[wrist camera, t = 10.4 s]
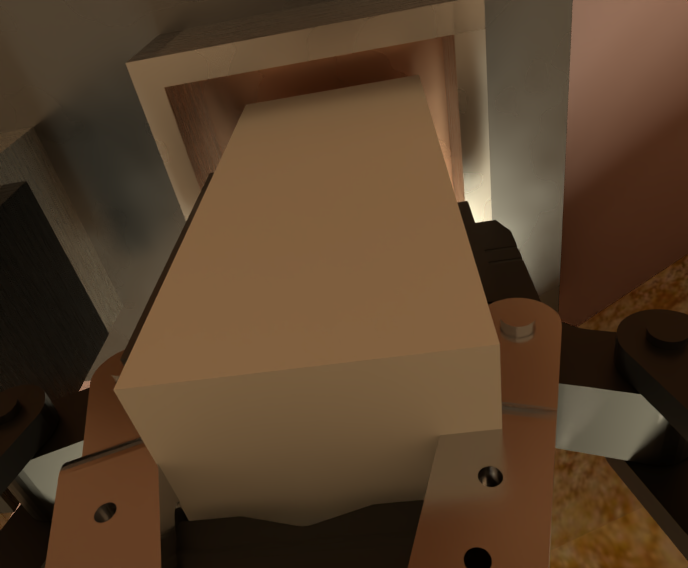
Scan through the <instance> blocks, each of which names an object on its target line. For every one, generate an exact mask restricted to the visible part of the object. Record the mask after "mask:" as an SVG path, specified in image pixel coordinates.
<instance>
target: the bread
mask: <svg viewBox="0 0 688 568" xmlns="http://www.w3.org/2000/svg"><path fill="white" fill-rule="evenodd" d="M650 309H665V310H672V311H678V312H681V313H685V314H688V254H687V255H686V256H684V257H683V258H681V259H680V260H678V261H677V262H675V263H674V264H672V265H671V266H669V267H668V268H666V269H665V270H663V271H662V272H660V273H658V274H657V275H655V276H654V277H652V278H651V279H649V280H648V281H646V282H645V283H643V284H642V285H640V286H639V287H637V288H636V289H634V290H633V291H631V292H630V293H628V294H627V295H625V296H624V297H622V298H621V299H619V300H618V301H616V302H615V303H613V304H611V305H610V306H608V307H607V308H605V309H604V310H602V311H601V312H599V313H598V314H596V315H595V316H593V317H592V318H590V319H589V320H587V321H586V322H584V323H583V324H581V325H580V326H578V328H583V329H590V330H600V331H610V332H617V328H618V326H619V324H620V322H621V321H622V320H623V319H624V318H626V317H627V316H629V315H631V314H633V313H636V312H639V311H643V310H650ZM549 568H688V561H687V560H686V558H685V557H684V556H683V555H682V553H681V552H680V551H679V550H678V549H677V547H676V546H675V545H674V544H673V542H672V541H671V540H670V539H669V537H668V536H667V535H666V534H665V533H664V531H663V530H662V529H661V528H660V526H659V525H658V524H657V523H656V521H655V520H654V519H653V518H652V517H651V515H650V514H649V513H648V512H647V510H646V509H645V508H644V507H643V505H642V504H641V503H640V502H639V501H638V499H637V498H636V497H635V496H634V494H633V493H632V492H631V491H630V489H629V488H628V487H627V486H626V485H625V483H624V482H623V481H622V480H621V478H620V477H619V476H618V475H617V473H616V472H615V471H614V470H613V469H612V467H611V466H610V465H609V463H608V462H607V460H606V458H605V457H604V456H598V455H592V454H586V453H581V452H575V451H569V450H563V449H558V448H556V450H555V468H554V487H553V505H552V524H551V542H550V561H549Z"/></svg>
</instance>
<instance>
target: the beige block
mask: <svg viewBox="0 0 688 568" xmlns="http://www.w3.org/2000/svg"><path fill="white" fill-rule="evenodd" d="M120 360H121V362H122V364H123V365H124V368H123V370H122V372H121V375H120V377H119V379H118V381H117V383H116V385H115V388H114V392H115V394H116V395H117V397H118V399H119V400H120V402H121V404H122V406H123V407H124V409H125V411H126V413H127V414H128V416H129V418H130V419H131V421H132V423H133V425H134V426H135V428H136V430H137V432H138V433H139V435H140V437H141V438H142V440H143V442H144V444H145V445H146V447H147V449H148V451H149V452H150V454H151V456H152V457H153V459H154V461H155V463H156V464H159V466H160V468H161V470H162V471H163V473H164V475H165V476H166V478H167V480H168V482H169V483H170V485H171V487H172V489H173V490H174V492H175V494H176V496H177V497H178V499H179V501H180V503H179V504H180V506H181V508H182V509H183V511H184V513H185V514H186V516H187V518H188V520H189V521H194V520H205V519H216V518H227V517H238V516H243V517H248V518H254V519H260V520H266V521H272V522H278V523H284V524H289V525H295V526H309V525H313V524H316V523H319V522H322V521H325V520H328V519H331V518H334V517H337V516H340V515H343V514H346V513H349V512H352V511H355V510H358V509H361V508H364V507H367V506H370V505H373V504H382V503H394V502H405V501H416V500H424V498H425V494H426V490H427V486H428V482H429V478H430V474H431V470H432V465H433V461H434V457H435V453H436V449H437V445H438V441H439V437H440V435H447V434H457V433H467V432H476V431H486V430H496V429H502V401H501V365H500V343H499V340H498V336H497V333H496V330H495V326H494V323H493V320H492V316H491V313H490V310H489V306H488V303H487V300H486V296H485V293H484V290H483V286H482V283H481V280H480V276H479V273H478V270H477V266H476V263H475V260H474V256H473V253H472V250H471V246H470V243H469V240H468V236H467V233H466V230H465V227H464V223H463V220H462V217H461V213H460V210H459V207H458V203H457V200H456V197H455V193H454V190H453V187H452V183H451V180H450V177H449V173H448V170H447V167H446V163H445V160H444V157H443V153H442V150H441V147H440V143H439V140H438V137H437V133H436V130H435V127H434V123H433V120H432V117H431V113H430V110H429V107H428V103H427V100H426V97H425V93H424V90H423V87H422V84H421V80H420V77H419V75H414V76H408V77H402V78H396V79H391V80H385V81H379V82H373V83H368V84H362V85H356V86H350V87H345V88H339V89H333V90H327V91H322V92H316V93H310V94H304V95H299V96H293V97H287V98H281V99H276V100H270V101H264V102H258V103H253V104H247V105H246V106H245V108H244V110H243V112H242V114H241V116H240V118H239V121H238V123H237V125H236V127H235V129H234V131H233V134H232V136H231V138H230V140H229V142H228V144H227V146H226V149H225V151H224V153H223V155H222V157H221V159H220V161H219V164H218V166H217V168H216V170H215V172H213V173H209V175H208V177H207V179H206V181H205V183H204V186H203V188H202V190H201V192H200V194H199V196H198V198H197V200H196V202H195V204H194V206H193V208H192V211H191V213H190V215H189V217H188V219H187V221H186V223H185V225H184V227H183V229H182V231H181V233H180V236H179V238H178V240H177V242H176V244H175V246H174V248H173V250H172V252H171V254H170V256H169V259H168V261H167V263H166V265H165V267H164V269H163V271H162V273H161V275H160V277H159V279H158V281H157V284H156V286H155V288H154V290H153V292H152V294H151V296H150V298H149V300H148V302H147V304H146V306H145V309H144V311H143V313H142V315H141V317H140V319H139V321H138V323H137V325H136V327H135V329H134V331H133V334H132V336H131V338H130V340H129V342H128V344H127V346H126V348H125V350H124V352H123V354H122V356H121V359H120Z"/></svg>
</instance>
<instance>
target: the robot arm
mask: <svg viewBox="0 0 688 568" xmlns="http://www.w3.org/2000/svg"><path fill="white" fill-rule="evenodd" d="M457 203H458V207H459V210H460V213H461V217H462V220H463V223H464V227H465V230H466V233H467V236H468V240H469V243H470V246H471V250H472V253H473V256H474V260H475V263H476V266H477V270H478V273H479V276H480V280H481V283H482V286H483V290H484V293H485V296H486V300H487V303H488V306H489V310H490V313H491V316H492V320H493V323H494V326H495V330H496V333H497V336H498V340H499V343H500V365H501V401H502V429H496V430H486V431H476V432H467V433H457V434H447V435H440V437H439V441H438V445H437V449H436V453H435V457H434V461H433V465H432V470H431V474H430V478H429V482H428V486H427V490H426V494H425V498H424V500H416V501H405V502H394V503H382V504H373V505H370V506H367V507H364V508H361V509H358V510H355V511H352V512H349V513H346V514H343V515H340V516H337V517H334V518H331V519H328V520H325V521H322V522H319V523H316V524H313V525H309V526H295V525H289V524H284V523H278V522H272V521H266V520H260V519H254V518H248V517H243V516H238V517H227V518H216V519H205V520H194V521H189V520H188V518H187V516H186V514H185V513H184V511H183V509H182V508H181V506H180V504H179V503H180V501H179V499H178V497H177V496H176V494H175V492H174V490H173V489H172V487H171V485H170V483H169V482H168V480H167V478H166V476H165V475H164V473H163V471H162V470H161V468H160V466H159V464H156V463H155V461H154V459H153V457H152V456H151V454H150V452H149V451H148V449H147V447H146V445H145V444H144V442H143V440H142V438H141V437H140V435H139V433H138V432H137V430H136V428H135V426H134V425H133V423H132V421H131V419H130V418H129V416H128V414H127V413H126V411H125V409H124V407H123V406H122V404H121V402H120V400H119V399H118V397H117V395H116V394H115V392H114V388H115V385H116V383H117V381H118V379H119V377H120V375H121V372H122V370H123V368H124V365H123V364H122V362H121V360H120V359H121V356H122V354H123V352H124V350H123V351H121V352H118V353H116V354H115V355H113V356H111V357H110V358H109V359H107V360H106V361H105V362H104V363H102V364H101V365H100V366H99V367H98V369H97V370H96V371H95V373H94V374H93V376H92V378H91V382H90V388H87V389H85V390H82V391H79V392H76V393H74V394H71V395H68V396H65V397H62V398H59V399H57V400H54V401H51V400H50V399H49V398H48V396H47V395H46V393H45V392H44V390H43V389H42V388H41V387H39V386H36V385H20V386H16V387H12V388H9V389H7V390H5V391H2V392H0V496H1V495H2V493H3V492H4V491H5V490H6V489H7V488H8V489H9V490H10V492H11V493H12V494H13V495H14V496H15V497H16V499H17V500H18V501H19V502H20V503H21V505H20V506H19V508H18V509H17V510H16V511H15V513H14V514H13V515H12V516H11V518H10V519H9V520H8V521H7V523H6V524H5V525H4V526H3V528H2V529H1V530H0V568H549V561H550V542H551V524H552V505H553V487H554V468H555V450H556V448H558V449H563V450H569V451H575V452H581V453H586V454H592V455H598V456H604V457H605V458H606V460H607V462H608V463H609V465H610V466H611V467H612V469H613V470H614V471H615V472H616V473H617V475H618V476H619V477H620V478H621V480H622V481H623V482H624V483H625V485H626V486H627V487H628V488H629V489H630V491H631V492H632V493H633V494H634V496H635V497H636V498H637V499H638V501H639V502H640V503H641V504H642V505H643V507H644V508H645V509H646V510H647V512H648V513H649V514H650V515H651V517H652V518H653V519H654V520H655V521H656V523H657V524H658V525H659V526H660V528H661V529H662V530H663V531H664V533H665V534H666V535H667V536H668V537H669V539H670V540H671V541H672V542H673V544H674V545H675V546H676V547H677V549H678V550H679V551H680V552H681V553H682V555H683V556H684V557H685V558H686V560H687V561H688V314H685V313H681V312H678V311H672V310H665V309H650V310H643V311H639V312H636V313H633V314H631V315H629V316H627V317H626V318H624V319H623V320H622V321H621V322H620V324H619V326H618V328H617V332H610V331H600V330H590V329H583V328H578V327H574V326H571V325H568V324H566V323H563V322H561V319H560V317H559V315H558V314H557V312H556V311H555V310H554V309H552V308H551V307H549V306H548V305H546V304H544V303H542V302H541V300H540V298H539V296H538V293H537V291H536V289H535V286H534V284H533V282H532V279H531V277H530V274H529V272H528V270H527V267H526V265H525V263H524V260H522V256H521V253H520V251H519V249H518V248H517V244H516V242H515V239H514V237H513V235H512V232H511V231H510V230H509V229H508V228H506V227H505V226H503V225H502V224H501V223H499V222H498V221H497V220H491V221H484V222H477V223H475V221H474V218H473V215H472V212H471V209H470V206H469V203H468V201H463V202H457Z"/></svg>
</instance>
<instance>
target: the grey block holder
mask: <svg viewBox="0 0 688 568" xmlns="http://www.w3.org/2000/svg"><path fill="white" fill-rule="evenodd" d="M572 2H573V0H0V392H2V391H5V390H7V389H9V388H12V387H16V386H20V385H36V386H39V387H41V388H42V389H43V390H44V392H45V393H46V395H47V396H48V398H49V399H50V400H51V401H54V400H57V399H59V398H62V397H65V396H68V395H71V394H74V393H76V392H79V390H80V388H81V386H82V384H83V382H84V381H89V380H91V378H92V376H93V374H94V373H95V371H96V370H97V369H98V367H99V366H100V365H101V364H102V363H104V362H105V361H106V360H107V359H109V358H110V357H111V356H113V355H115V354H116V353H118V352H121V351H123V350H125V348H126V346H127V344H128V342H129V340H130V338H131V336H132V334H133V331H134V329H135V327H136V325H137V323H138V321H139V319H140V317H141V315H142V313H143V311H144V309H145V306H146V304H147V302H148V300H149V298H150V296H151V294H152V292H153V290H154V288H155V286H156V284H157V281H158V279H159V277H160V275H161V273H162V271H163V269H164V267H165V265H166V263H167V261H168V259H169V256H170V254H171V252H172V250H173V248H174V246H175V244H176V242H177V240H178V238H179V236H180V233H181V231H182V229H183V227H184V225H185V223H186V221H187V219H188V217H189V215H190V213H191V211H192V208H193V206H194V204H195V202H196V200H197V198H198V196H199V194H200V192H201V190H202V188H203V186H204V183H205V181H206V179H207V177H208V175H209V173H213V172H215V170H216V168H217V166H218V164H219V161H220V159H221V157H222V155H223V153H224V151H225V149H226V146H227V144H228V142H229V140H230V138H231V136H232V134H233V131H234V129H235V127H236V125H237V123H238V121H239V118H240V116H241V114H242V112H243V110H244V108H245V106H246V105H247V104H253V103H258V102H264V101H270V100H276V99H281V98H287V97H293V96H299V95H304V94H310V93H316V92H322V91H327V90H333V89H339V88H345V87H350V86H356V85H362V84H368V83H373V82H379V81H385V80H391V79H396V78H402V77H408V76H414V75H419V77H420V80H421V84H422V87H423V90H424V93H425V97H426V100H427V103H428V107H429V110H430V113H431V117H432V120H433V123H434V127H435V130H436V133H437V137H438V140H439V143H440V147H441V150H442V153H443V157H444V160H445V163H446V167H447V170H448V173H449V177H450V180H451V183H452V187H453V190H454V193H455V197H456V200H457V202H463V201H468V203H469V206H470V209H471V212H472V215H473V218H474V221H475V223H477V222H484V221H491V220H497V221H498V222H499V223H501V224H502V225H503V226H505V227H506V228H508V229H509V230H510V231H511V232H512V235H513V237H514V239H515V242H516V244H517V248H518V249H519V251H520V253H521V256H522V260H524V263H525V265H526V267H527V270H528V272H529V274H530V277H531V279H532V282H533V284H534V286H535V289H536V291H537V293H538V296H539V298H540V300H541V302H542V303H544V304H546V305H548V306H549V307H551V308H552V309H554V310H555V311H556V312H557V314H558V308H559V287H560V265H561V243H562V221H563V199H564V177H565V155H566V133H567V112H568V90H569V68H570V46H571V24H572ZM19 503H20V502H19V501H18V500H17V499H16V497H15V496H14V495H13V494H12V493H11V492H10V490H9V489H8V488H7V489H6V490H5V491H4V492H3V493H2V495H1V496H0V530H1V529H2V528H3V526H4V525H5V524H6V523H7V521H8V520H9V518H10V516H11V514H12V512H15V510H16V508H17V506H18V504H19Z"/></svg>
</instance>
